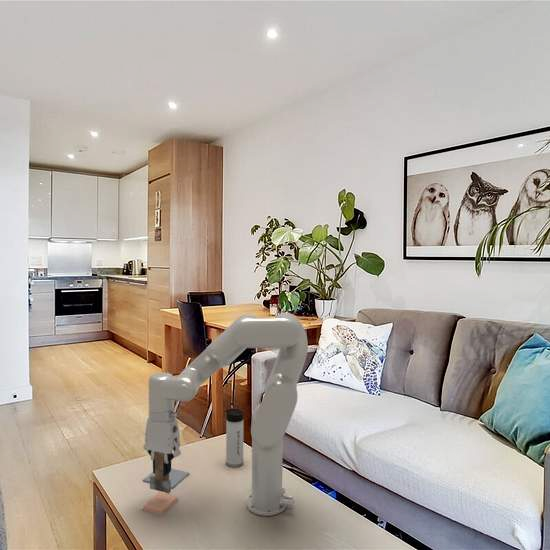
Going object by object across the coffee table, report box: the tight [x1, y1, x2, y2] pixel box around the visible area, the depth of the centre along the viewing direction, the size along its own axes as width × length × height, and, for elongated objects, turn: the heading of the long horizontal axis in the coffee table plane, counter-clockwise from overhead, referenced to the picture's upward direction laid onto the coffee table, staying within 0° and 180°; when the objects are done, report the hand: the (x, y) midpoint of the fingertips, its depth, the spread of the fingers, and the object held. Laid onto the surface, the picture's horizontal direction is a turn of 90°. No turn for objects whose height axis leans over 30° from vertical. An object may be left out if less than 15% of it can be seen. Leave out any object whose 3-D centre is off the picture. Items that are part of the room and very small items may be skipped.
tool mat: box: [142, 467, 190, 490], centre depth 147 cm, size 12×10×1 cm
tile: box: [142, 491, 179, 516], centre depth 131 cm, size 7×2×8 cm
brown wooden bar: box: [149, 451, 172, 494], centre depth 131 cm, size 7×3×14 cm, turn 68°
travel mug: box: [225, 408, 244, 468], centre depth 157 cm, size 6×7×20 cm
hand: (162, 472), depth 131 cm, fingers closed on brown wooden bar, 3 cm apart
